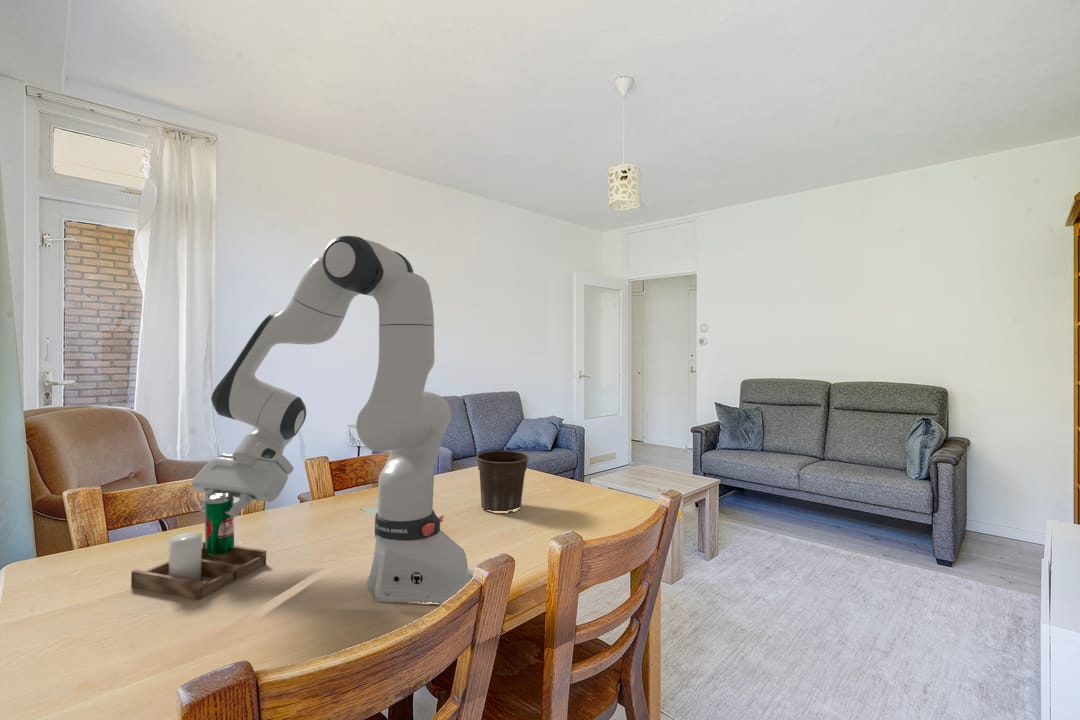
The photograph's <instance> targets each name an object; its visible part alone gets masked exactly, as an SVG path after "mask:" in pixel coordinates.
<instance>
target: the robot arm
mask: <svg viewBox="0 0 1080 720" xmlns="http://www.w3.org/2000/svg"><path fill="white" fill-rule="evenodd" d="M431 293H432V292H431V289H430V284H429V283H428V281H427V280H426V279H425V278H424V277H423V276H421V275H420V274H418V273H414V268H413V265H412V264H411V262H410V261H409V260H408V259H407V258H406V257H405V256H404V255H403V254H401V253H399V252H398V251H395V250H392V249H390V248H388V247H386V246H385V245H383V244H381V243H379V242H375V241H373V240H369V239H364V238H363V237H360V236H357V235H356V236H355V235H343V236H338V237H335V238H334V239H332V240H330V242H328V244H327V245H326V247H325V248H324V251H323V254H322V256H319V257H317V258H315V259H314V260H312V262H311V263H310V265H309V266H308V267H307V269H306V270H305V272H304V274H303V276H302V278H301V279H300V281H299V282H298V284H297V287H296V290H294V293H293V296H292V298H291V300H290V302H289V303H288V305H287V306H286V307H285V308H283V309H282V310H281V311H275V312H274V311H273V312H271V313H269V315H267V316H266V317H265V318H264V319H263V320H262V321H261V323H260V324H258V327H257V328H256V329H255V330H254V332H253V333H252V335H251V336H250V338H249V340H248V341H247V342H246V344H245V346H244V347H243V349H242V350H241V352H240V353H239V355H238V356H237V358H236V360H235V361H234V363H233V364H232V366H231V367H230V369H229V370H228V371H227V372H226V374H225V375H224V376H223V378H222V379H221V380H220V382H219V383H218V384H217V385H216V386H215V387H214V390H213V392H212V393H211V397H210V398H211V399H210V400H211V403H212V407H213V408H214V410H215V412H216V413H217V415H218V416H221V417H225V418H228V419H232V420H235V421H239V422H242V423H245V424H247V425H250V426H252V427H253V428H252V429H251V431H250V432H249V433H247V434H246V435H245V436H244V438H243V439H242V441H241V442H240V444H239V445H238V446H237V447H236V448H235V450H234V451H233V453H232V454H227V453H223V454H222V453H221V455H219V456H215V457H214V458H212V459H210V460H209V461H208V462H207V463H206V464H205V465H204V466H203V468H201V470H199V472H198V473H197V474H196V475H195V477H193V479H192V480H191V487H192V488H194V489H195V490H196V491H198V492H199V493H201V494H204V498H203V499H204V502H203V503H202V505H200V508H199V511H200V512H202V513H203V514H205V501H206V500H207V496H209V495H211V494H214V493H219V492H229V493H231V496H232V497H233V498H237V499H238V500H237V501H236V502H235V503H234V505H233V506H229V507H228V508H227V510H226V511H225V514H226V515H227V516H229V517H234V518H236V517H237V515H238V514H239V512H240V511H242V509H244V508H246V507H247V506H249V505H250V504H251V502H252V501H259V502H267V503H271V502H273V501H275V500H276V499H278V497H279V496H280V495H281V492H283V489H284V487H285V486H286V484H287V482H288V479H289V477H288V476H289V475H291V474H292V472H293V471H294V469H295V468H294V466H293V465H292V463H291V462H290V461H289V460H288V458H286V457H285V456H284V455H283V453H284V451H285V448H286V446H287V445H288V444H289V443H290V442H292V441H293V439H294V437H296V436H297V434H298V433H299V431H300V429H301V428H302V426H303V424H304V423H305V422H306V421H305V420H306V418H307V406H306V404H305V403H304V402H303V399H302V398H301V397H300V396H298V395H296V394H294V393H292V392H289V391H287V390H285V389H282V388H279V387H276V386H275V385H271V384H269V383H267V382H264V381H261V380H259V379H258V378H257V377H256V375H255V373H256V372H257V370H258V369H259V367H260V366H261V364H262V362H264V359H265V358H266V356H267V355H268V354H269V352H270V351H271V349H272V347H274V346H275V345H278V344H290V345H291V344H292V345H318V344H322V343H324V342H327V341H329V340H330V339H332V338H333V337H335V335H336V334H337V333H338V331H339V330H340V327H341V326H342V324H343V321H344V320H345V317H346V314H347V312H348V309H349V307H350V305H351V302H352V301H353V299H354V298H356V297H357V296H358V295H365V296H370V297H373V298H374V300H376V303H377V305H378V366H377V371H376V376H375V380H374V383H373V385H372V389H371V392H370V396H369V398H368V399H367V401H366V403H365V405H364V406H363V407H362V409H361V410H360V411H359V413H358V415H357V419H356V426H355V427H356V432H357V436H358V438H359V440H360V442H361V443H362V444H363V445H364V447H366V448H367V449H368V450H371V451H373V452H377V453H380V452H381V453H389V454H388V458H387V460H386V463H385V464H384V466H383V468H382V470H380V474H379V475H378V480H377V482H378V486H377V487H378V488H377V489H378V490H377V512H376V514H375V517H374V518H375V519H374V536H375V537H374V538H375V546H374V553H373V559H372V565H371V569H370V573H369V576H368V579H367V581H366V584H367V585H366V586H367V588H368V589H369V590H370V592H372V593H373V598H374V601H376V602H379V603H382V602H383V603H395V602H397V603H396V604H399V603H400V602H401V603H400V604H412V603H413V602H414V603H415V602H416V603H417V602H419V603H423V602H424V603H427V602H432V603H435V602H436V603H439V604H438V605H437V606H442V605H441V604H442V603H443V602H445V601H446V600H448V599H449V598H450V597H452V596H453V595H455V594H456V593H457V592H458V591H459V590H460V589H462V588H463V587H464V586H465V585H466V584H467V583H468V582H469V581H470V580H471V579H472V577H473V573H474V571H475V569H470V568H469V566H468V559H467V554H466V551H465V550H464V549H463V548H462V547H461V546H460V545H459V544H458V543H456V542H455V541H454V540H453V539H452V538H451V537H449V536H448V535H447V534H446V533H445V532H443V530H442V529H441V523H442V522H443V521H444V520H445V519H444V516H445V515H443V514H442V515H440V517H438V516H437V514H436V512H435V511H434V509H433V507H434V506H433V504H434V503H433V502H434V481H435V471H436V466H437V461H438V458H439V455H440V454H439V453H440V451H441V446H442V441H443V437H444V434H445V432H446V430H447V428H448V426H449V425H450V422H451V418H452V411H451V408H450V405H449V403H448V401H447V400H446V399H445V398H444V397H443V396H441V395H440V394H437V393H433V392H431V391H425V388H426V383H427V380H428V376H429V374H430V372H431V370H433V368H434V365H435V316H434V308H433V307H434V306H433V300H432V299H433V298H432V294H431ZM398 602H399V603H398ZM402 602H404V603H402ZM405 602H406V603H405ZM407 602H408V603H407ZM409 602H410V603H409ZM411 602H412V603H411Z"/></svg>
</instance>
